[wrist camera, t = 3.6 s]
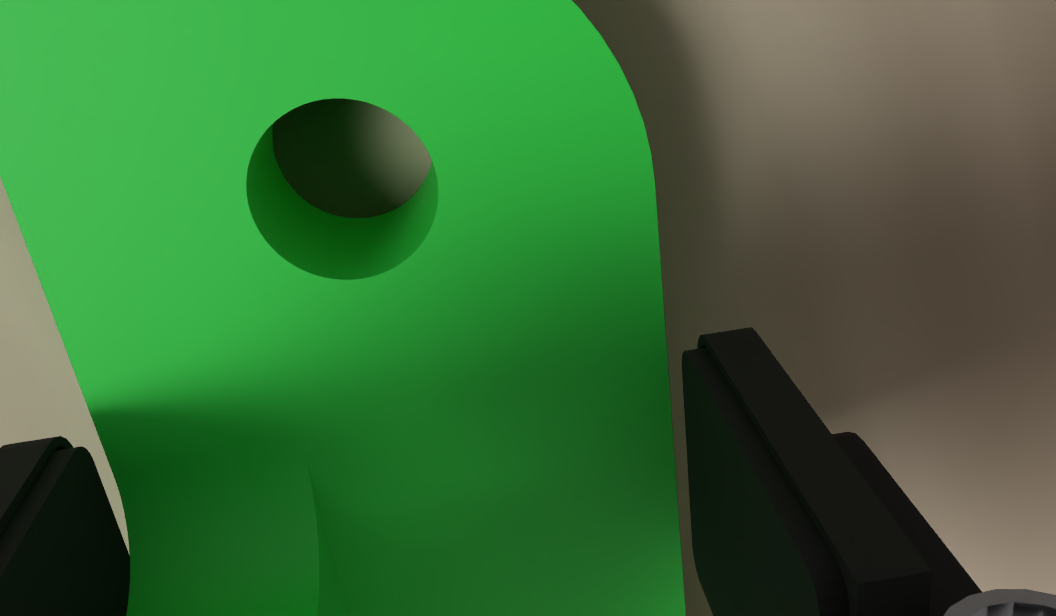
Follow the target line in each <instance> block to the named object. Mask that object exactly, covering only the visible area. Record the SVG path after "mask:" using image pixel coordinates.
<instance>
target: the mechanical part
mask: <svg viewBox="0 0 1056 616" xmlns="http://www.w3.org/2000/svg"><path fill="white" fill-rule="evenodd" d="M332 98H345V99H353V100H359V101H363V102H367V103H370V104H373V105H376V106H378V107H380V108H382V109H385V110H387V111H388V112H390V113H392V114H393V115H395V116H396V117H398V118H399V119H400V120H402V121H403V122H404V123H405V124H407V125H408V126H409V127H410V128H411V129H412V130H413V131H414V132H415V134H416V135H417V136H418V137H419V138H420V140H421V141H422V143H423V144H424V146H425V147H426V149H427V151H428V153H429V155H430V157H431V159H432V164H431V168H430V170H429V172H428V175H427V177H426V179H425V180H424V182H423V184H422V185H421V187H420V188H419V189H418V191H417V192H416V193H415V194H414V195H413V196H412V197H411V198H410V199H409V200H408V201H406V202H405V203H403V204H402V205H401V206H399V207H397V208H396V209H394V210H392V211H389V212H387V213H384V214H381V215H378V216H373V217H367V218H348V217H341V216H336V215H333V214H330V213H327V212H325V211H322V210H320V209H318V208H316V207H314V206H313V205H311V204H310V203H308V202H307V201H305V200H304V199H303V198H302V197H300V196H299V195H298V194H297V193H296V192H295V191H294V190H293V189H292V187H291V186H290V185H289V184H288V182H287V181H286V179H285V178H284V176H283V174H282V172H281V170H280V168H279V166H278V163H277V161H276V158H275V154H274V149H273V140H272V132H273V123H274V122H275V121H276V120H277V119H279V118H280V117H281V116H283V115H284V114H286V113H287V112H289V111H291V110H292V109H294V108H297V107H299V106H301V105H303V104H306V103H310V102H313V101H318V100H322V99H332ZM0 177H1V179H2V182H3V185H4V187H5V190H6V193H7V195H8V198H9V201H10V203H11V206H12V209H13V211H14V214H15V216H16V219H17V222H18V224H19V227H20V230H21V232H22V235H23V238H24V240H25V243H26V245H27V248H28V251H29V253H30V256H31V259H32V261H33V264H34V267H35V269H36V272H37V274H38V277H39V280H40V282H41V285H42V288H43V290H44V293H45V296H46V298H47V301H48V303H49V306H50V309H51V311H52V314H53V317H54V319H55V322H56V325H57V327H58V330H59V332H60V335H61V338H62V340H63V343H64V346H65V348H66V351H67V354H68V356H69V359H70V361H71V364H72V367H73V369H74V372H75V375H76V377H77V380H78V383H79V385H80V388H81V390H82V393H83V396H84V398H85V401H86V404H87V406H88V409H89V412H90V414H91V417H92V419H93V422H94V425H95V427H96V430H97V433H98V435H99V438H100V441H101V443H102V446H103V449H104V451H105V454H106V456H107V459H108V462H109V464H110V467H111V470H112V472H113V475H114V478H115V480H116V483H117V486H118V489H119V493H120V496H121V500H122V504H123V508H124V513H125V518H126V524H127V531H128V539H129V551H130V588H129V599H128V607H127V613H126V616H686V610H685V596H684V582H683V568H682V554H681V540H680V526H679V512H678V498H677V484H676V470H675V456H674V442H673V428H672V414H671V400H670V386H669V372H668V358H667V343H666V329H665V315H664V301H663V287H662V273H661V259H660V245H659V231H658V217H657V203H656V189H655V179H654V171H653V163H652V155H651V151H650V146H649V142H648V138H647V134H646V130H645V125H644V122H643V119H642V116H641V114H640V111H639V108H638V105H637V102H636V100H635V97H634V94H633V92H632V90H631V88H630V86H629V84H628V81H627V79H626V77H625V75H624V73H623V71H622V69H621V67H620V65H619V63H618V62H617V60H616V58H615V57H614V55H613V54H612V52H611V50H610V49H609V47H608V46H607V44H606V42H605V41H604V39H603V38H602V36H601V35H600V33H599V32H598V31H597V30H596V28H595V27H594V26H593V25H592V23H591V22H590V21H589V20H588V18H587V17H586V16H585V14H584V13H583V12H582V11H581V9H580V8H579V7H578V6H577V5H576V4H575V3H574V2H573V1H572V0H0Z"/></svg>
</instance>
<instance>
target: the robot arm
mask: <svg viewBox="0 0 1056 616" xmlns="http://www.w3.org/2000/svg"><path fill="white" fill-rule="evenodd" d="M682 375H683V392H684V409H685V426H686V443H687V460H688V478H689V495H690V512H691V529H692V546H693V555H694V561H695V565H696V570H697V574H698V577H699V580H700V583H701V585H702V588H703V591H704V593H705V596H706V598H707V601H708V603H709V606H710V608H711V611H712V613H713V616H1056V595H1052V594H1047V593H1042V592H1037V591H1032V590H1027V589H995V590H990V591H986V592H982V591H981V590H980V589H979V588H978V586H977V585H976V584H975V582H974V581H973V580H972V579H971V577H970V576H969V575H968V574H967V572H966V571H965V570H964V568H963V567H962V566H961V565H960V563H959V562H958V561H957V560H956V558H955V557H954V556H953V554H952V553H951V552H950V551H949V549H948V548H947V547H946V545H945V544H944V543H943V542H942V540H941V539H940V538H939V537H938V535H937V534H936V533H935V531H934V530H933V529H932V528H931V526H930V525H929V524H928V523H927V521H926V520H925V519H924V517H923V516H922V515H921V514H920V512H919V511H918V510H917V509H916V507H915V506H914V505H913V503H912V502H911V501H910V500H909V498H908V497H907V496H906V494H905V493H904V492H903V491H902V489H901V488H900V487H899V486H898V484H897V483H896V482H895V480H894V479H893V478H892V477H891V475H890V474H889V473H888V472H887V470H886V469H885V468H884V466H883V465H882V464H881V463H880V461H879V460H878V459H877V457H876V456H875V455H874V454H873V452H872V451H871V450H870V449H869V447H868V446H867V445H866V443H865V442H864V441H863V440H862V439H861V438H860V437H859V436H858V435H857V434H855V433H851V432H844V433H838V434H831V433H830V432H829V430H828V429H827V427H826V426H825V425H824V423H823V422H822V421H821V419H820V418H819V417H818V415H817V414H816V412H815V411H814V410H813V408H812V407H811V406H810V404H809V403H808V402H807V400H806V399H805V398H804V396H803V395H802V393H801V392H800V391H799V389H798V388H797V387H796V385H795V384H794V383H793V381H792V380H791V379H790V377H789V376H788V374H787V373H786V372H785V370H784V369H783V368H782V366H781V365H780V364H779V362H778V361H777V360H776V358H775V357H774V355H773V354H772V353H771V351H770V350H769V349H768V347H767V346H766V345H765V343H764V342H763V341H762V339H761V338H760V336H759V335H758V334H757V332H756V331H755V330H754V329H753V328H744V329H737V330H731V331H724V332H718V333H712V334H705V335H700V337H699V339H698V349H695V350H688V351H684V352H683V354H682ZM129 588H130V556H129V553H128V551H127V548H126V545H125V543H124V540H123V537H122V535H121V532H120V529H119V527H118V524H117V521H116V519H115V516H114V514H113V511H112V508H111V506H110V503H109V500H108V498H107V495H106V492H105V490H104V487H103V484H102V482H101V479H100V477H99V474H98V471H97V469H96V466H95V463H94V461H93V458H92V456H91V454H90V453H89V452H88V450H87V449H86V448H84V447H76V448H73V446H72V445H71V444H70V442H69V441H68V440H67V439H66V438H63V437H61V436H59V437H53V438H46V439H40V440H34V441H27V442H21V443H15V444H8V445H4V446H2V447H1V448H0V616H126V613H127V607H128V599H129Z"/></svg>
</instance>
